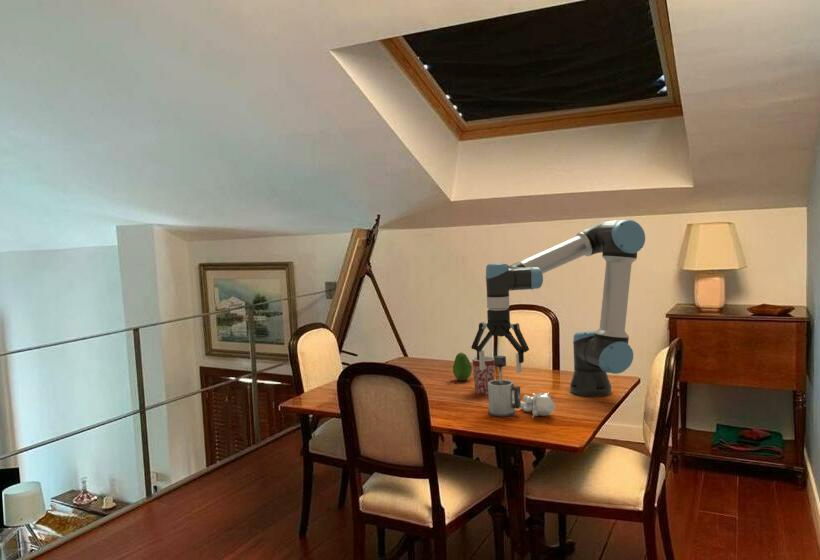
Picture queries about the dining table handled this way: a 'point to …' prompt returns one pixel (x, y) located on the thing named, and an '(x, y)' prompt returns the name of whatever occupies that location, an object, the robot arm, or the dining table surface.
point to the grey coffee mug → (503, 398)
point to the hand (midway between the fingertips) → (500, 371)
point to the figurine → (538, 404)
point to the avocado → (462, 367)
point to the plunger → (500, 365)
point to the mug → (483, 374)
